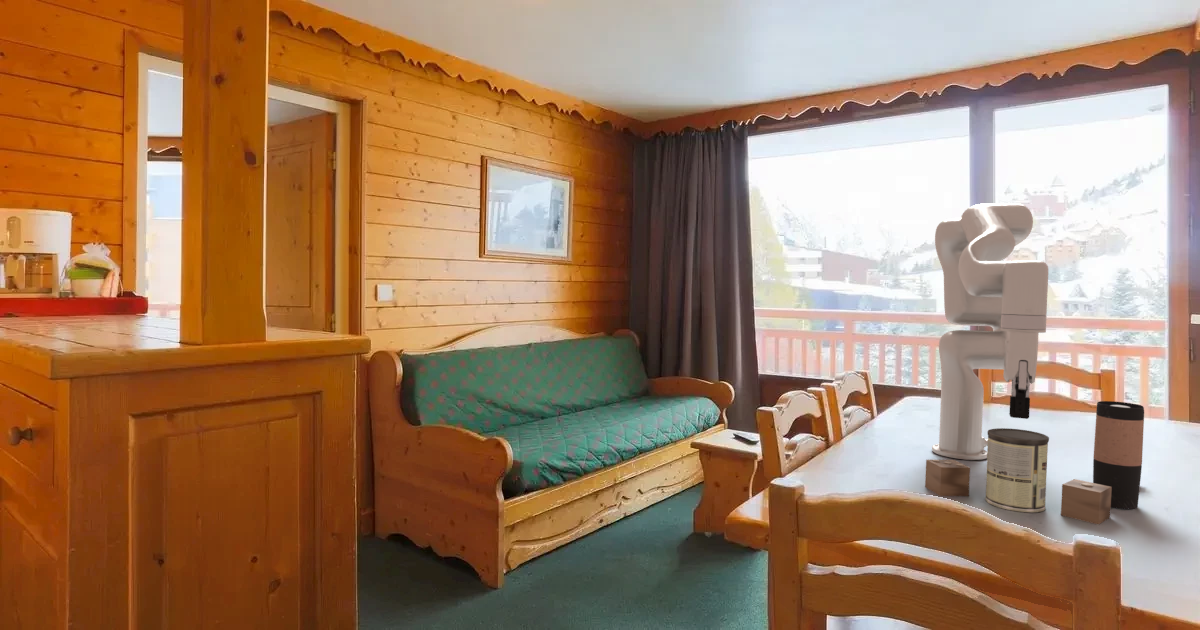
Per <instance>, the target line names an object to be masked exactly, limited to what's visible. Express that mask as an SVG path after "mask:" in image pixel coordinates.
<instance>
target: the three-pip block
mask: <svg viewBox="0 0 1200 630" xmlns="http://www.w3.org/2000/svg"><path fill="white" fill-rule="evenodd" d="M970 475H971V467H970V466H967V464H964V463H962V462H959V461H957V459H926V460H925V477H924V479H925V481H924V482H925V483H924V485H925V486H924V487H925V488H926V489H928V490H929V491H931V492H933V493H934V494H936V495H938V496H939V497H970V481H971V480H970V477H971V476H970Z"/></svg>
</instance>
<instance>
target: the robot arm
mask: <svg viewBox="0 0 1200 630" xmlns="http://www.w3.org/2000/svg"><path fill="white" fill-rule="evenodd" d="M1033 226H1034V220H1033V214H1032V212H1031V210H1030V208H1029V207H1028V206H1026V205H1024V204H1022V203H1018V202H1017V203H1016V202H1014V203H1012V202H1011V203H1010V202H1008V203H1002V202H1000V203H980V204H979V203H978V204H975V205H972V206H970V207H968V208H967V209H965V210H964V212H963V213H962V214H961V217H955V218H948V219H945V220H943V221H941V222H940V223H939V224H938V225H937V226H936V229H935V234H934V246H935V250H936V251H935V252H936V254H937V258H938V260H939V263H940V265H941V268H942V272H943V297H944V298H943V299H944V300H943V301H944V303H943V306H944V315H945V319H946V320H947V321H948V323H950V324H953V325H956V326H957V325H958V326H971V327H972V326H976V327H991V328H992V330H993V331H992V330H971V329H969V330H968V329H965V330H964V329H955V330H950V331H947V332H945V333H944V334H943V335H941V336H940V339H939V342H938V352H939V359H940V370H941V372H940V373H941V375H940V376H941V378H940V379H941V380H940V381H941V383H940V385H941V386H940V388H941V389H940V413H939V435H938V436H939V437H938V443H936V444H933V445H932V446H931V451H932V452H933V453H934V454H936V455H939V456H942V457H945V458H946V457H947V458H951V459H955V460H957V459H958V460H967V461H969V460H970V461H980V460H981V461H982V460H985V459H986V460H987V450H985V448H986V447H988V438H985V437H984V436H983V415H984V414H983V412H984V411H983V410H984V392H985V391H984V385H983V382H982V381H981V379H980V378H979V377H978V375H976V373H975V372H974V370H979V369H980V370H982V369H983V370H1003V374H1002V375H1003V379H1004V381H1005V382H1006V383H1010V380H1011V395H1010V396H1009V413H1008V414H1009V417H1010V418H1012V419H1013V418H1015V419H1024V420H1025V419H1026V420H1027V419H1029V418H1030V409H1031V408H1030V404H1031V403H1030V402H1031V398H1030V385H1031V384H1034V383H1036V376H1037V366H1038V353H1039V351H1038V350H1039V333H1040V334H1041V333H1042V334H1043V333H1047V332H1046V331H1047V311H1048V310H1047V309H1048V289H1049V287H1048V286H1049V266H1048V264H1047V263H1046V262H1045V261H1041V260H1012V261H1011V260H1005V259H1007V258H1008V257H1009V256H1010V255H1011V254H1012V253H1013V251H1014V249H1015V247H1017V246H1018V245H1019V244H1020V243H1022V242H1024V241H1025V240H1026V239H1028V237H1029V236H1030V234H1031V232H1032V230H1033Z"/></svg>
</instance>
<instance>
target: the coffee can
mask: <svg viewBox="0 0 1200 630" xmlns="http://www.w3.org/2000/svg"><path fill="white" fill-rule="evenodd" d="M987 439H988V446H987V449H986V451H987V458H986V479H985V480H986V484H985V498H984V500H985V502H986V503H988V504H989V505H991V506H994V507H996V508H999V509H1003V510H1007V511H1012V512H1019V513H1041V512H1044V511H1046V496H1047V491H1046V490H1047V476H1048V475H1047V469H1048V451H1049V450H1048V449H1049V448H1048V447H1049V441H1050V437H1049V436H1048V435H1046V434H1044V433H1041V432H1038V431H1037V432H1036V431H1032V430H1026V429H1018V428H1008V427H1007V428H1005V427H1004V428H1002V427H1001V428H999V427H998V428H991V429H988V430H987Z"/></svg>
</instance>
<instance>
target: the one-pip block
mask: <svg viewBox="0 0 1200 630" xmlns="http://www.w3.org/2000/svg"><path fill="white" fill-rule="evenodd" d="M1111 491H1112V487H1110V486H1105V485H1100V484H1096V483H1093V482H1090V481H1085V480H1080V479H1077V478H1074V479H1071V480H1069V481H1066V482H1064V483H1063V484H1062V485H1061V500H1060V501H1061V503H1060V505H1061V506H1060V516H1064V517H1067V518H1069V519H1076V520H1078V521H1083V522H1087V523H1091V524H1095V525H1098V526H1099V525H1100V524H1102V523H1104V522H1106V521H1107V520H1109V519H1111V509H1112V508H1111Z"/></svg>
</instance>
